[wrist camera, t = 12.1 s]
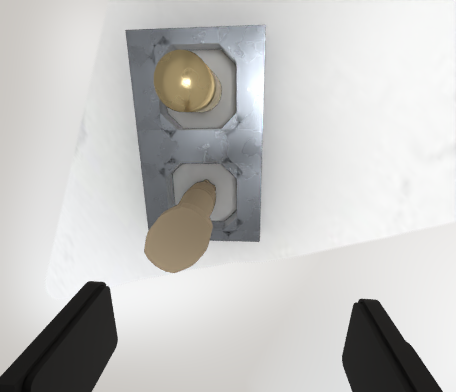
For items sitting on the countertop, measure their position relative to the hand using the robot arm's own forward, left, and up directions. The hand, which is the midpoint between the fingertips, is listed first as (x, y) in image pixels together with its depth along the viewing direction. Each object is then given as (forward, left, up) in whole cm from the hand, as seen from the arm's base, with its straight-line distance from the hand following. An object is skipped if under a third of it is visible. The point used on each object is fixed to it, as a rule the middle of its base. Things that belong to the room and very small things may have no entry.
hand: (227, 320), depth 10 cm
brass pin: (-10, -5, -26) cm, 29 cm away
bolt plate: (-4, -5, -26) cm, 27 cm away
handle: (+3, -5, -26) cm, 27 cm away
